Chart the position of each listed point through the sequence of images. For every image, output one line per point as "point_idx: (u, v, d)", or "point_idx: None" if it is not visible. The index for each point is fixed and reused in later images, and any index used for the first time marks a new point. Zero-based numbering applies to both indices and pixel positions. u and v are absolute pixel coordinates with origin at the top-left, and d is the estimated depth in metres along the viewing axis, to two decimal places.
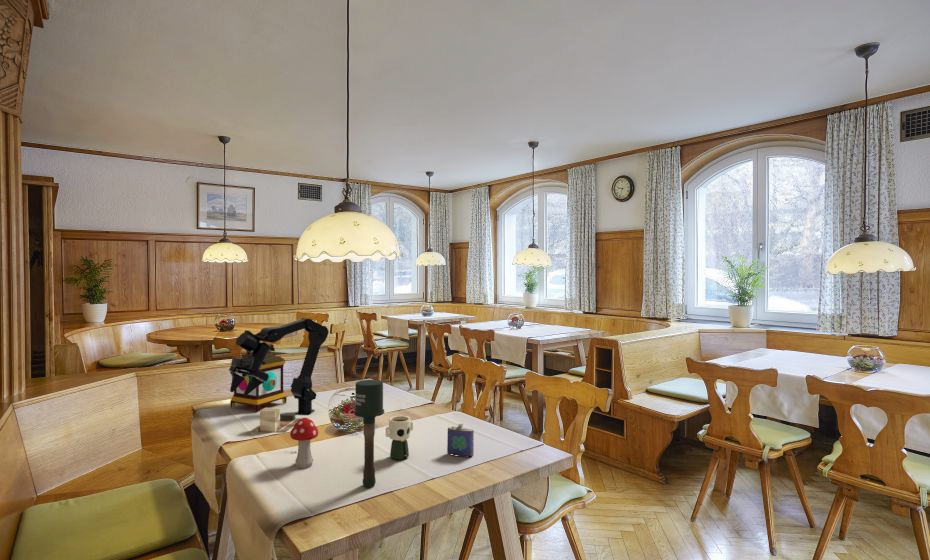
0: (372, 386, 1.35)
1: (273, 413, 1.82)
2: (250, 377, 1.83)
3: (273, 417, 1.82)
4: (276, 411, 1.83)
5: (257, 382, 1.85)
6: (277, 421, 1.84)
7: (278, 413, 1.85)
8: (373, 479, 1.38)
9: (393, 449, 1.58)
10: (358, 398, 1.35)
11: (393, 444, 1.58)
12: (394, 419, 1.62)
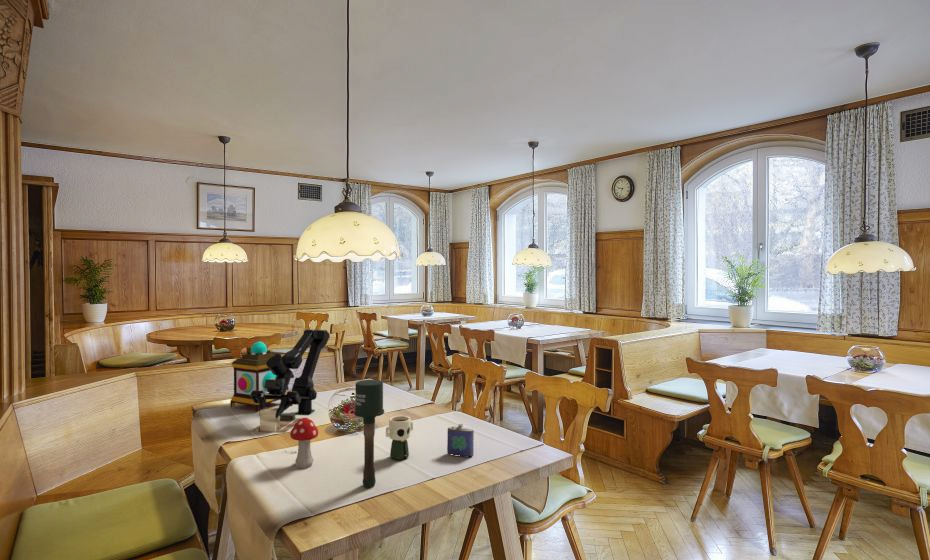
0: (372, 386, 1.35)
1: (273, 413, 1.82)
2: (283, 398, 1.85)
3: (273, 417, 1.82)
4: (276, 411, 1.83)
5: (286, 405, 1.87)
6: (277, 421, 1.84)
7: None
8: (373, 479, 1.38)
9: (393, 449, 1.58)
10: (358, 398, 1.35)
11: (393, 444, 1.58)
12: (394, 419, 1.62)
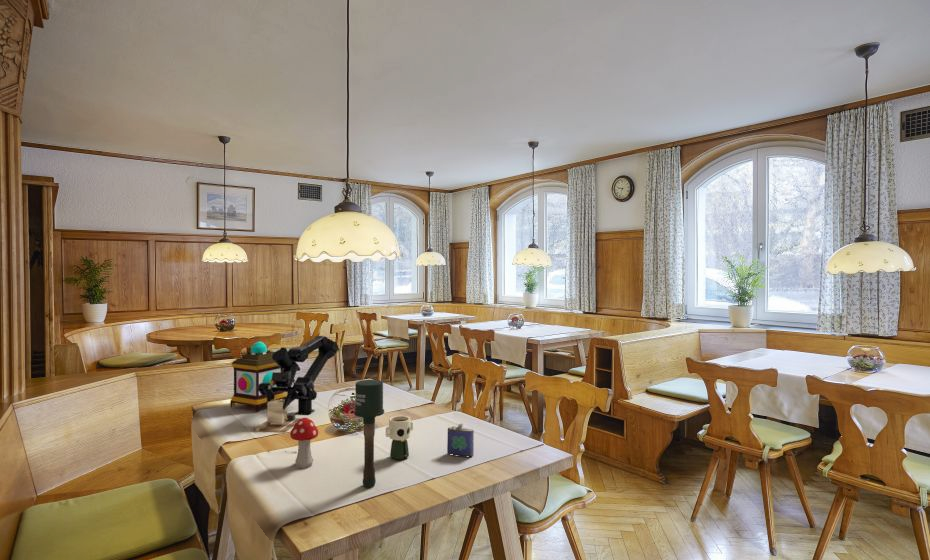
0: (372, 386, 1.35)
1: (280, 405, 1.88)
2: (290, 391, 1.90)
3: (280, 408, 1.88)
4: (283, 403, 1.89)
5: (293, 397, 1.93)
6: (284, 412, 1.90)
7: None
8: (373, 479, 1.38)
9: (393, 449, 1.58)
10: (358, 398, 1.35)
11: (393, 444, 1.58)
12: (394, 419, 1.62)
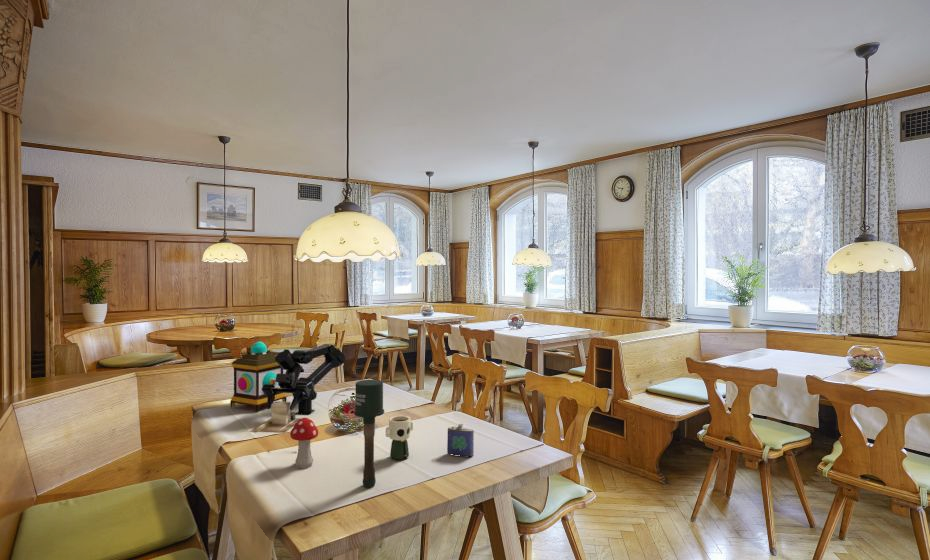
0: (372, 386, 1.35)
1: (284, 407, 1.91)
2: (297, 392, 1.94)
3: (284, 410, 1.91)
4: (287, 405, 1.92)
5: (299, 398, 1.96)
6: (288, 414, 1.93)
7: (289, 407, 1.94)
8: (373, 479, 1.38)
9: (393, 449, 1.58)
10: (358, 398, 1.35)
11: (393, 444, 1.58)
12: (394, 419, 1.62)
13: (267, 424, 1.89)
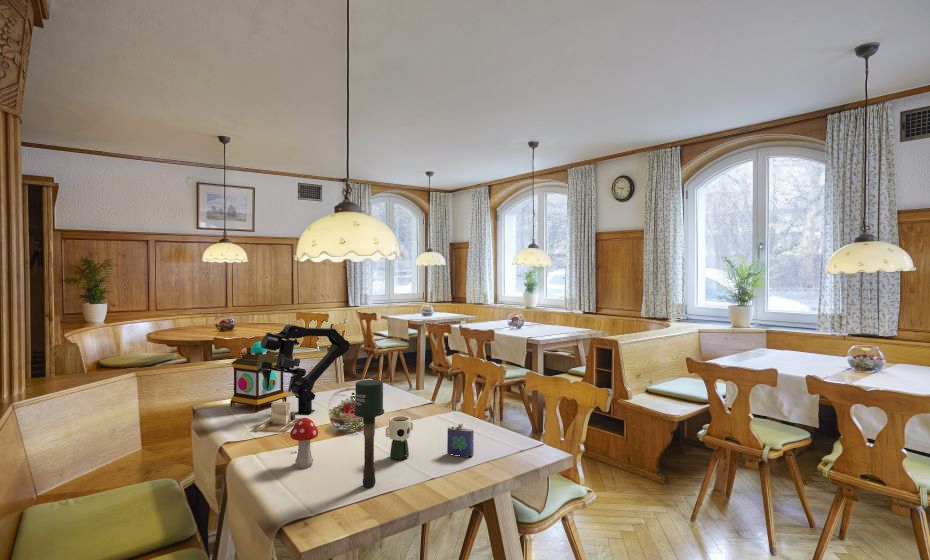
0: (372, 386, 1.35)
1: (284, 407, 1.91)
2: (298, 376, 2.02)
3: (284, 410, 1.91)
4: (287, 405, 1.92)
5: None
6: (288, 414, 1.93)
7: (289, 407, 1.94)
8: (373, 479, 1.38)
9: (393, 449, 1.58)
10: (358, 398, 1.35)
11: (393, 444, 1.58)
12: (394, 419, 1.62)
13: (267, 424, 1.89)
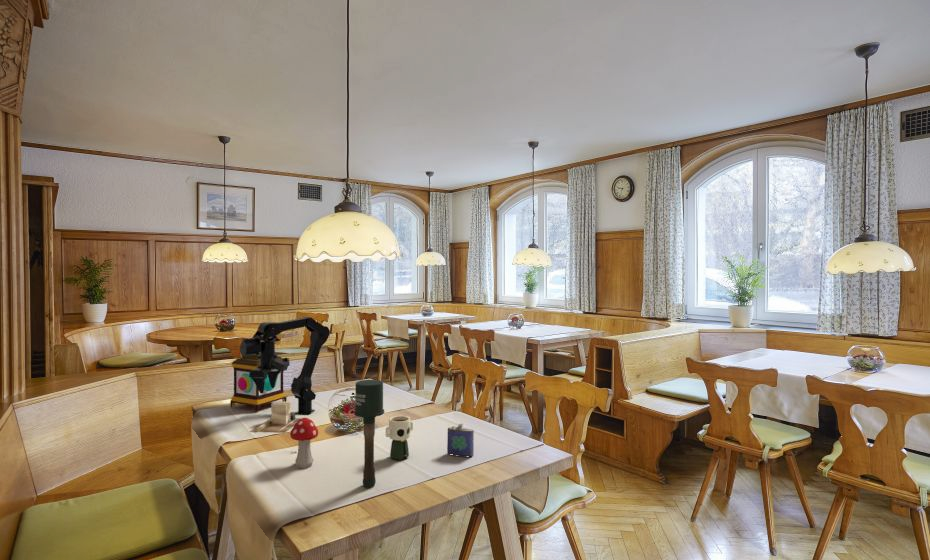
0: (372, 386, 1.35)
1: (284, 407, 1.91)
2: (280, 372, 2.04)
3: (284, 410, 1.91)
4: (287, 405, 1.92)
5: None
6: (288, 414, 1.93)
7: (289, 407, 1.94)
8: (373, 479, 1.38)
9: (393, 449, 1.58)
10: (358, 398, 1.35)
11: (393, 444, 1.58)
12: (394, 419, 1.62)
13: (267, 424, 1.89)
